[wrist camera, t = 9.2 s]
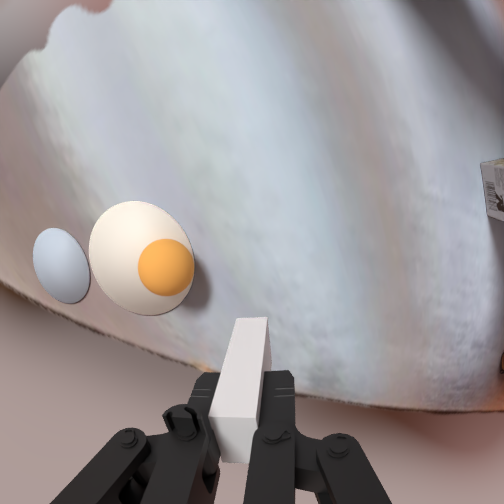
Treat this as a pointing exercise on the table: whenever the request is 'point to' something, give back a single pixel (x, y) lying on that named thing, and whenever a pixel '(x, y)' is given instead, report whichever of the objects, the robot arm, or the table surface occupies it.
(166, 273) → the ball
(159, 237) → the disc
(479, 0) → the table surface
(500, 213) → the coffee box
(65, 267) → the pale blue disc
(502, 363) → the bread roll
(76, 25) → the table surface
